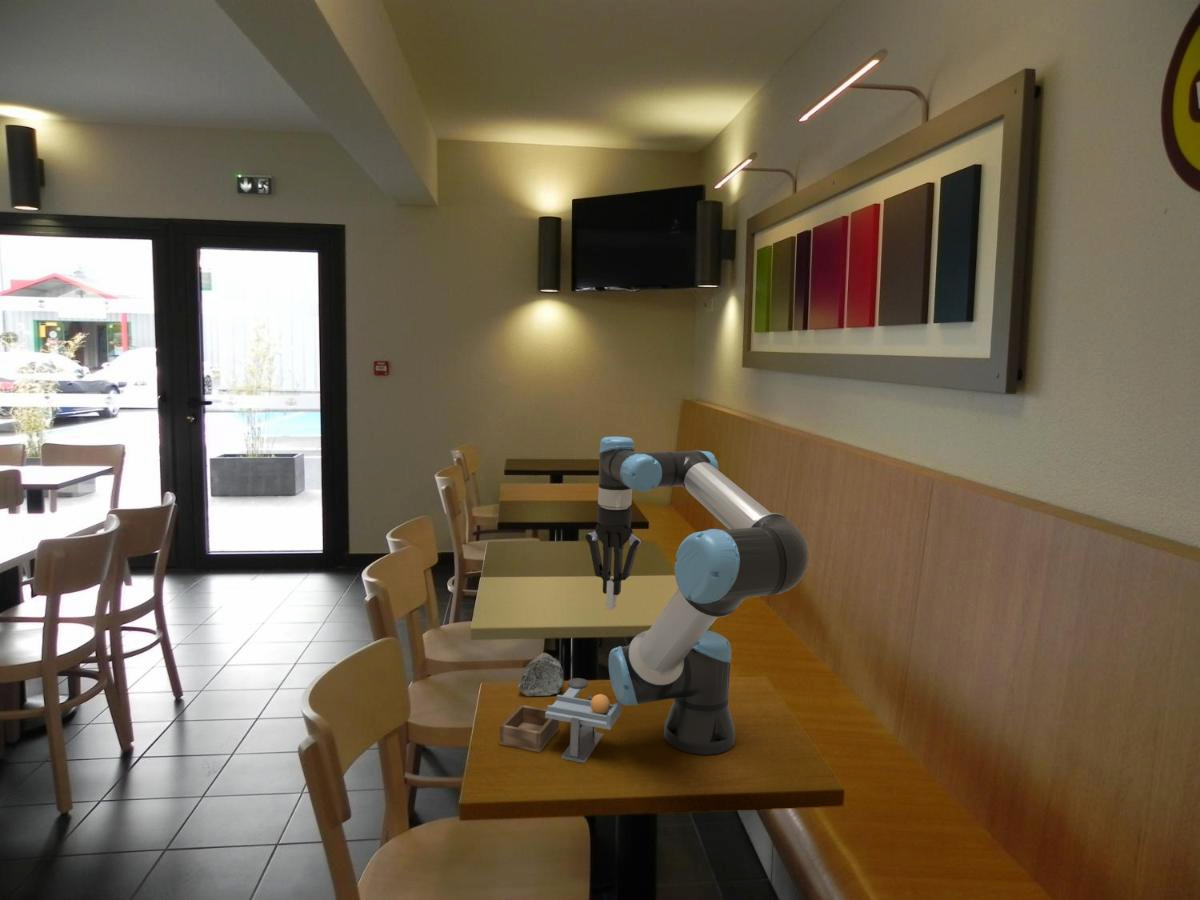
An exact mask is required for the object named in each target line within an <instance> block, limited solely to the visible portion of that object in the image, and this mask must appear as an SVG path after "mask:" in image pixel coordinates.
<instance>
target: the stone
mask: <svg viewBox="0 0 1200 900" xmlns="http://www.w3.org/2000/svg"><path fill="white" fill-rule="evenodd" d="M520 679H521V680H520V683H519V684H518V686H517V688H518V689H519V690H520V692H521V693H522V694H523V695H524V696H526V697H533V696H535V697H537V696H539V697H540V696H541V697H543V696H552V695H557V694H559V693H560V692H561V689H562V687H563V685H564V684H565V682H564V681H565V680H564V670H563V666H562V665H561V662H560V660H558V659H557V658H556V657H553V656H552V655H550V654H549V653H547V652H542V653H541V654H539V655H538V656H536V657H535V658H534V659H532V660H531V661H530V662H529V663H527V665H526V666H525V669H524V670H523V673H522V675H521V678H520Z"/></svg>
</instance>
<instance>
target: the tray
mask: <svg viewBox="0 0 1200 900" xmlns="http://www.w3.org/2000/svg"><path fill="white" fill-rule="evenodd" d="M546 712H547V709H546V708H541V707H536V706H531V705H530V706H529V705H524V704H520V705H519V706H518V707H517V708H516V709H515V710H514V711H513V713H511V714H510V715H509V716H508V718H506V720H504V721H503V723H502V724H501V725H500V726H499V745H503V746H506V747H507V746H508V747H513V748H516V749H517V748H518V749H521V750H527V751H530V752H531V751H532V752H536V753H541V751H543V749H544V748H545V747H546V745H547V744H548V743H549V742H550V741H551V739H552V738H553V736H554V735H555V734H557V731H559V730H560V729H559V726H560V725H559V724H560V720H555V719H550V718H545V713H546Z"/></svg>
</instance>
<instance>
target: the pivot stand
mask: <svg viewBox="0 0 1200 900" xmlns="http://www.w3.org/2000/svg"><path fill="white" fill-rule="evenodd" d="M593 697H594V696H591V695H588V697H587V700H590V701H591V700H592V698H593ZM569 737H570V742H569V745H568V747H566V749H565V750H564V752H563V753H562V754H561V757H560V758H561V760H566V761H570V762H571V761H572V762H575V763H576V762H577V763H579V764H581V763H582V764H586V762H587V761H588V759H589V758H590V756H591V755H592V753H593V752H594V750H595V749H596V747H597V746H598V744H599V743H600V741H601V740H602V738H603V737H604V732H599V731H596V727H592V726H587V725H582V724H580V719H579V718H574V717H572V718H571V722H570V736H569Z"/></svg>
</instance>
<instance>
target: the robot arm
mask: <svg viewBox="0 0 1200 900" xmlns="http://www.w3.org/2000/svg"><path fill="white" fill-rule="evenodd" d="M634 444H635V442H634V439H633V438H630V437H625V436H605V437H602V438H601V439H600V445H599V452H598V457H599V462H598V463H599V465H598V466H599V467H598V491H597V493H598V494H597V495H598V496H597V504H598V505H599V506H597V519H596V520H597V523H596V526H595V529H594V531H592V532H589V533H587V534H586V535H585V537H584V538H585V539H586V542H587V543H588V545H589V549H590V554H591V555H590V556H591V560H592V561H591V562H592V567H593V571H594V575H595V576H596V577H598V578H601V579H602V594H606V595H605V597H606V599H605V601H606V603H605V609H606V610H608V611H609V610H610V611H613V610H614V609H615V608H616V607H617V596H619V595H620V594H621V592H622V591H621V590H622V581H626V580H627V579H628V578H629V577H630V575H631V571H632V568H633V564H634V560H635V557H636V553H637V550H638V547H639V546H640V545H641V544H642V543H643V539H642V538H641V537H637V536H635V535H634V534H633V530H632V527H631V526H632V508H631V505H632V499H633V490H634V491H637V492H650V491H652V490H654V489H655V488H673V487H682V488H683V489H684V490H686V491H687V492H688V493H689V494H690V495H691V496H692V497H693V498H694V499H695V500H696V501H698V502H699V503H700V504H701V505H702V506H703V507H704V508H705V509H706V510H707V511H708V512H709V513H710V514H712V515H713V516H714V517H715V519H717V520H718V521H720V523H721V524H722V525H724V526H725V528H727V529H718V528H710V529H705V530H703V531H697V532H693V533H691V534H689V535H688V536H687V537H685V538H684V539H683V540H682V541H681V543H680V545H679V547H678V548H677V551H676V555H675V558H676V562H674V578H675V582H676V585H677V587H678V588H677V589H676V590H675V592H674V594H673V595H672V597H671V598H670V599H669V601H668V602H667V604H666V605H665V606H664V608H663V609H662V611H661V612H660V613H659V615H658V617H656V619H655V620H654V622H653V624H651V626H650V627H649V629H648V630H644V631H642V632H640V633H638V634H637V635H636V636H634V637H633V638H632V640H631V642H630V643H629V644H628V645H625V646H621V645H619V646H617V647H614V648H612V649H611V650H610V651H609V655H608V674H609V680H610V685H611V687H612V691H613V694H614V697H616V700H618V701H619V702H620V703H621V704H622V706H638V705H640V704H641V705H642V704H648V703H652V702H653V703H654V702H660V701H665V700H673V701H672V704H671V707H670V709H669V712H668V715H667V717H666V720H665V721H664V728H663V731H664V732H663V736H664V737H663V738H664V739H665V741H666V742H667V743H668V744H669V745H670V746H672V747H673V748H675V749H677V750H679V751H682V752H685V753H688V754H689V753H690V754H694V755H703V756H705V755H706V756H707V755H717V754H720V753H721V754H722V753H724V752H727V751H728V750H730V749H731V748H732V747H734V745H735V742H736V740H735V739H736V728H735V726H734V725H735V724H734V721H733V718H732V714H731V710H730V707H729V701H730V700H729V698H730V697H729V696H730V682H731V678H730V677H731V667H732V666H731V663H732V661H733V660H732V647H731V643H730V642H729V640H728V639H727V637H725V636H724V635H722V634H719V633H718V632H715V631H711V630H709V628H710V627H711V626H712V624H714V622H715V621H716V620H717V619H718V618H724V617H727V616H729V615H731V614H732V613H734V612H735V611H736V610H737V609H738V608H739V606H740V605H741V604H742V603H743V601H744V600H747V599H749V598H756V597H764V596H765V597H766V596H773V595H774V596H775V595H781V594H783V593H786V592H788V591H790V590H791V589H793V588H795V587H796V586H797V585H798V583H799V582H800V581H801V580H802V579H803V577H804V575H805V573H806V571H807V568H808V565H809V557H810V554H809V547H808V543H807V541H806V539H805V537H804V535H803V533H802V532H801V531H800V530H799V528H798V527H797V526H796V525H795V524H794V523H793V522H791V521H790V520H789V519H788V518H787V517H785V516H784V515H783V514H781V513H777V512H770V511H769V510H768V509H767V508H766V507H765V506H763V505H762V504H760V502H758V501H757V500H755V499H754V498H753V497H752V496H750V494H748V493H747V492H746V491H744V490H743V489H742V488H741V487H739V486H738V485H737V483H735V482H734V481H732V479H730V478H728V476H726V475H725V474H723V473H722V472H721V471H719V463H718V460H717V459H716V456H715V455H714V454H713V453H712V452H711V451H706V450H696V449H695V450H686V451H685V450H684V451H683V450H681V451H680V450H679V451H652V452H651V451H649V452H648V451H647V452H644V451H643V452H641V451H640V452H638V451H635V445H634ZM598 540H600V542H601V544H602V551H603V552H602V553H603V554H602V556H603V558H602V557H601V550H600V546H599V541H598ZM628 541H629V543H628V545H629V548H628V552H627V555H626V559H625V562H624V565H623V557H624V556H623V555H624V553H623V551H624V547H625V546H624V545H626V544H627V542H628ZM613 552H614V554H613ZM612 555H613V574H612ZM623 566H624V567H623ZM612 575H613V578H612Z"/></svg>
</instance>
